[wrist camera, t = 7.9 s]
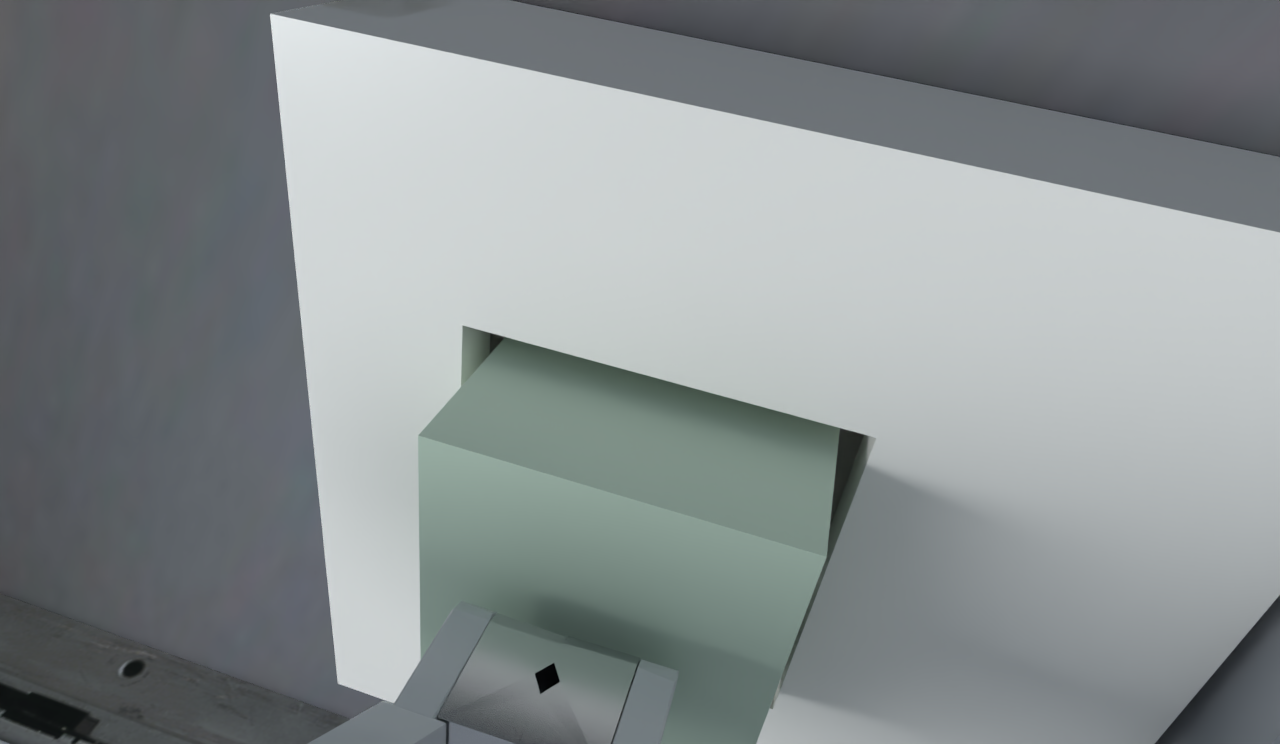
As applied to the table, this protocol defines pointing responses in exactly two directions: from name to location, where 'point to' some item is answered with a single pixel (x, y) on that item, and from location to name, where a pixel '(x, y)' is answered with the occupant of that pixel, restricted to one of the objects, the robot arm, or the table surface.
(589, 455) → the sage key
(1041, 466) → the key panel
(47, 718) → the hard drive
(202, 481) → the table surface
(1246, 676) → the grey key
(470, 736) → the robot arm
